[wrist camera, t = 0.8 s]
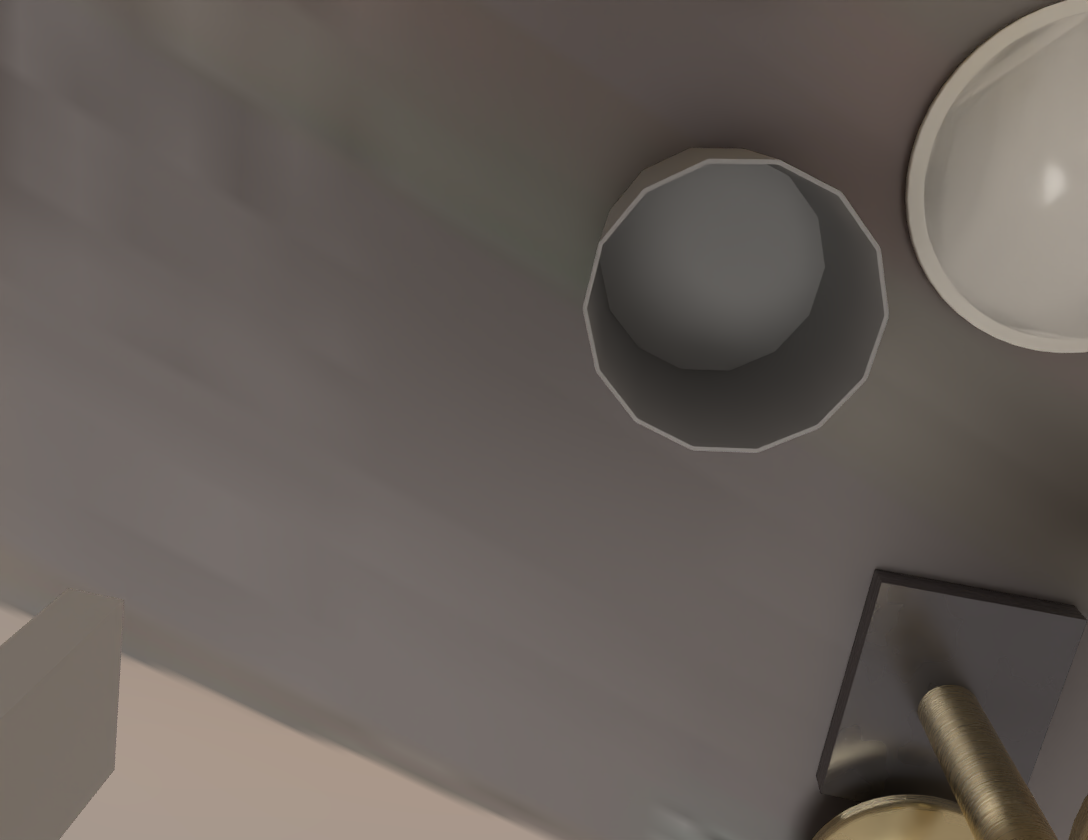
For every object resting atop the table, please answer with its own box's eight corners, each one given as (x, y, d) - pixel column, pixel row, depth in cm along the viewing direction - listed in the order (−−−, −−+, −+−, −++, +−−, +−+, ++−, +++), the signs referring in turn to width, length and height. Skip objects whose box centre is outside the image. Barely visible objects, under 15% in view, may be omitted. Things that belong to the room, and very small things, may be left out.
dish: (953, -30, 34) (964, -35, 32) (1313, 26, 33) (1337, 23, 32) (863, 315, 37) (870, 321, 36) (1187, 371, 37) (1204, 379, 36)
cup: (868, 213, 36) (949, 247, 27) (754, 405, 39) (791, 500, 29) (662, 106, 36) (669, 102, 26) (560, 307, 38) (533, 371, 29)
